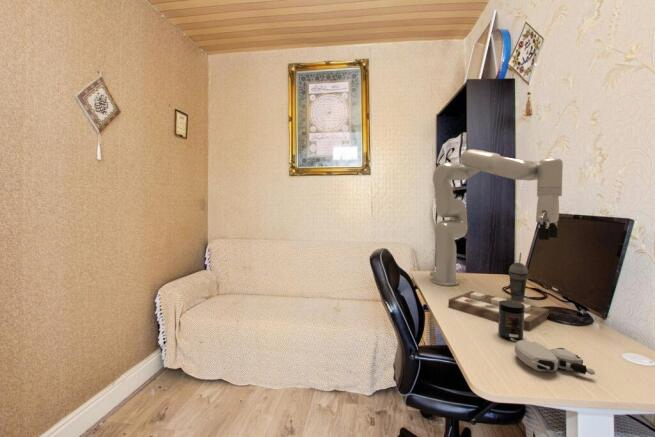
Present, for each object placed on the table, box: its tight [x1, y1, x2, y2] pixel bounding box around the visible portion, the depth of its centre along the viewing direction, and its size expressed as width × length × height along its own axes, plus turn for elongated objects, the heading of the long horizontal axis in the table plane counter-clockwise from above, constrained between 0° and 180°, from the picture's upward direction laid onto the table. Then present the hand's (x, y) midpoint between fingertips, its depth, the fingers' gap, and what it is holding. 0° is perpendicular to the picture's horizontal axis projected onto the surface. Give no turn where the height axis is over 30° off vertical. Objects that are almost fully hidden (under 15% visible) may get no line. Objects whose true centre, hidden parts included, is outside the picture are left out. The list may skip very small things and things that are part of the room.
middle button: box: [491, 296, 508, 305], centre depth 116 cm, size 4×4×2 cm
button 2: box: [521, 302, 531, 313], centre depth 110 cm, size 4×4×2 cm
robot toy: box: [511, 338, 596, 376], centre depth 78 cm, size 12×4×15 cm
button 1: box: [470, 291, 486, 301], centre depth 122 cm, size 4×4×2 cm
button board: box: [448, 290, 550, 332], centre depth 115 cm, size 28×18×3 cm, turn 38°
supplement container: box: [497, 299, 525, 342], centre depth 94 cm, size 7×7×10 cm
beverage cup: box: [507, 252, 529, 302], centre depth 129 cm, size 7×7×20 cm
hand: (547, 238), depth 115 cm, fingers open, 9 cm apart
